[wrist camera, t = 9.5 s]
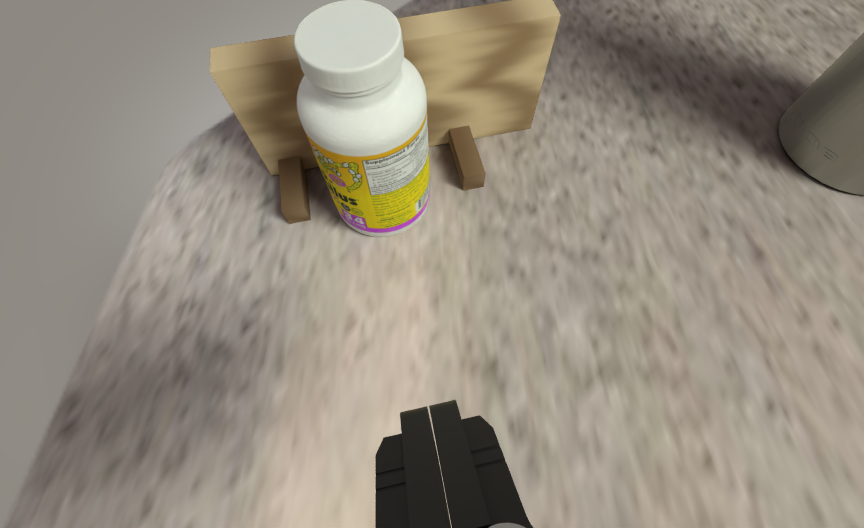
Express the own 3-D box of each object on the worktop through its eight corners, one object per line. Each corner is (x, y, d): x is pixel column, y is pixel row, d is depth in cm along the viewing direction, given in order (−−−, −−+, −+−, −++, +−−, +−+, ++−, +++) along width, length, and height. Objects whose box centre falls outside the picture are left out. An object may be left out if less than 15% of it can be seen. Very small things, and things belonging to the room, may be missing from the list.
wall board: (522, 109, 33) (549, -6, 25) (549, 173, 30) (590, 67, 22) (270, 154, 31) (210, 48, 23) (274, 226, 28) (208, 134, 20)
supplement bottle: (324, 183, 30) (251, 10, 18) (407, 151, 31) (386, -31, 20) (358, 256, 27) (297, 108, 16) (446, 218, 28) (450, 54, 17)
